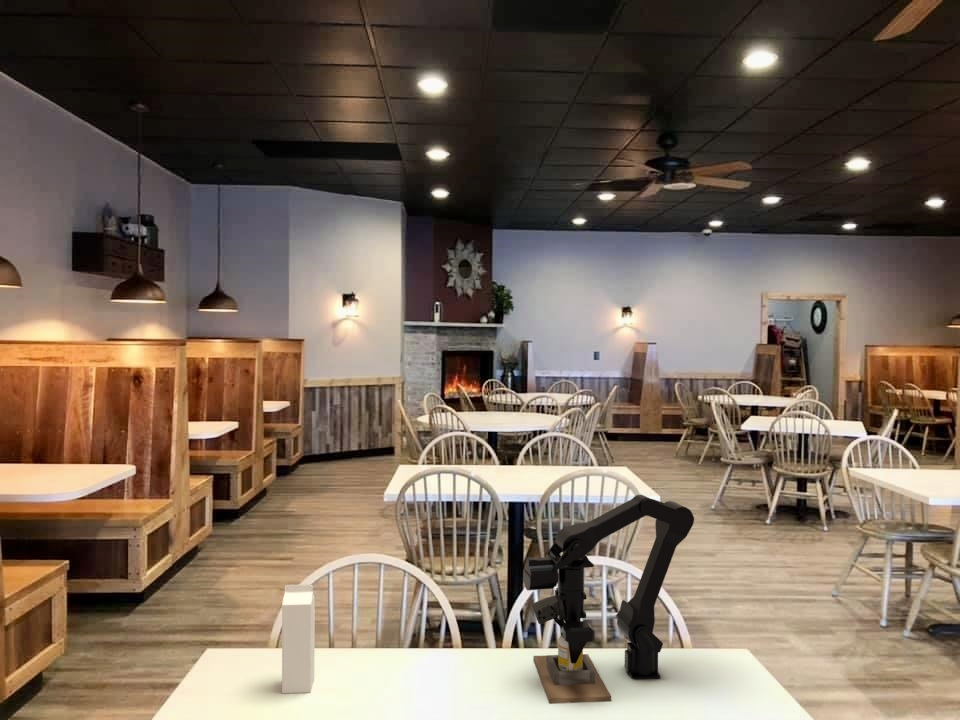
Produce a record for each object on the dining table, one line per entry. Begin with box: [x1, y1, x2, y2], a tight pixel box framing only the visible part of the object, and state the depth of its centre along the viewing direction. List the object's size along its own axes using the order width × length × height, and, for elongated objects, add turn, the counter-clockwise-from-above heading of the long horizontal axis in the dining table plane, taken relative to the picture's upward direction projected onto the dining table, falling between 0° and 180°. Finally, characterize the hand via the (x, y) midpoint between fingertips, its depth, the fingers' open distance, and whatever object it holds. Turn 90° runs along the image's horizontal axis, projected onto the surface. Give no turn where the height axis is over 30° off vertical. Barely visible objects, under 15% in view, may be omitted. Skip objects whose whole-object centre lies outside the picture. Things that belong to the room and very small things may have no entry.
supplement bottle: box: [557, 629, 584, 671], centre depth 157 cm, size 5×5×10 cm
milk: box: [281, 584, 316, 694], centre depth 152 cm, size 6×6×22 cm
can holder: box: [532, 653, 612, 704], centre depth 157 cm, size 13×20×4 cm, turn 5°
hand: (570, 657), depth 157 cm, fingers open, 6 cm apart
